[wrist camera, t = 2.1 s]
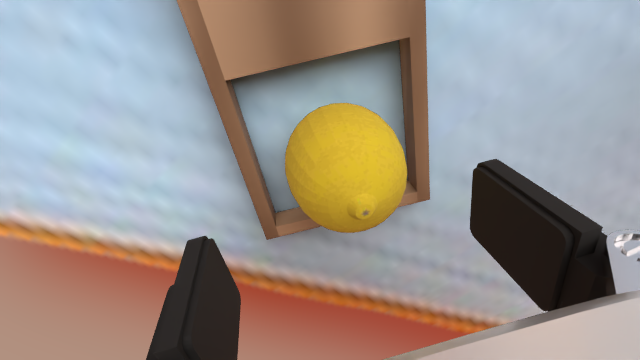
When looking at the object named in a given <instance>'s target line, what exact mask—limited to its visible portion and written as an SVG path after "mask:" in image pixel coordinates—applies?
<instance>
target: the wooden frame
mask: <svg viewBox="0 0 640 360" xmlns="http://www.w3.org/2000/svg"><path fill="white" fill-rule="evenodd" d="M177 2H178V5H179V8H180V10H181V13H182V16H183V18H184V21H185V24H186V26H187V29H188V32H189V34H190V37H191V40H192V42H193V45H194V48H195V50H196V53H197V56H198V58H199V61H200V64H201V66H202V69H203V71H204V74H205V77H206V79H207V82H208V85H209V87H210V90H211V93H212V95H213V98H214V101H215V103H216V106H217V109H218V111H219V114H220V117H221V119H222V122H223V125H224V127H225V130H226V133H227V135H228V138H229V141H230V143H231V146H232V149H233V151H234V154H235V156H236V159H237V162H238V164H239V167H240V170H241V172H242V175H243V178H244V180H245V183H246V186H247V188H248V191H249V194H250V196H251V199H252V202H253V204H254V207H255V210H256V212H257V215H258V218H259V220H260V223H261V226H262V228H263V231H264V234H265V236H266V239H267V240H268V239H272V238H276V237H280V236H284V235H288V234H292V233H296V232H300V231H304V230H308V229H312V228H316V227H320V226H321V225H319V224H317V223H316V222H315V221H313V220H312V219H311V218H310V217H309V216H308V215H307V214H305V213H304V211H303V210H302V209H301V207H297V208H293V209H289V210H285V211H281V212H277V213H275V210H274V207H273V204H272V201H271V198H270V195H269V192H268V189H267V186H266V183H265V180H264V177H263V175H262V172H261V169H260V166H259V163H258V160H257V157H256V154H255V151H254V148H253V145H252V142H251V139H250V136H249V133H248V130H247V127H246V124H245V121H244V118H243V115H242V112H241V109H240V106H239V104H238V101H237V98H236V95H235V92H234V89H233V86H232V83H231V80H230V79H235V78H239V77H243V76H247V75H252V74H256V73H260V72H264V71H268V70H273V69H277V68H281V67H285V66H290V65H294V64H298V63H302V62H307V61H311V60H315V59H319V58H323V57H328V56H332V55H336V54H340V53H345V52H349V51H353V50H357V49H362V48H366V47H370V46H374V45H378V44H383V43H387V42H391V41H395V40H399V46H400V62H401V77H402V93H403V109H404V125H405V141H406V157H407V173H408V180H407V181H406V189H405V191H404V194H403V197H402V200H401V202H400V203H399V205H398V206H397V207H401V206H405V205H409V204H413V203H417V202H421V201H425V200H429V199H430V187H429V142H428V96H427V51H426V6H425V0H177Z"/></svg>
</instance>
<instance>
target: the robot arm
mask: <svg viewBox="0 0 640 360" xmlns="http://www.w3.org/2000/svg"><path fill="white" fill-rule="evenodd" d="M602 228H603V227H602V226H600V225H598V224H597V223H595V222H594V221H592V220H591V219H589V218H588V217H586V216H585V215H583V214H581V213H580V212H578V211H577V210H575V209H574V208H572V207H571V206H569V205H567V204H566V203H564V202H563V201H561V200H560V199H558V198H557V197H555V196H554V195H552V194H550V193H549V192H547V191H546V190H544V189H543V188H541V187H540V186H538V185H536V184H535V183H533V182H532V181H530V180H529V179H527V178H526V177H524V176H523V175H521V174H519V173H518V172H516V171H515V170H513V169H512V168H510V167H509V166H507V165H505V164H504V163H502V162H501V161H499V160H497V159H493V160H489V161H485V162H482V163H479V164H478V165H477V168H475V169H474V170H473V181H472V199H471V216H470V230H471V233H472V235H473V236H474V238H475V239H476V240H477V241H478V242H479V243H480V244H481V245H482V246H483V247H484V248H485V249H486V250H487V252H488V253H489V254H490V255H491V256H492V257H493V258H494V259H495V260H496V261H497V262H498V263H499V264H500V266H501V267H502V268H503V269H504V270H505V271H506V272H507V273H508V274H509V275H510V276H511V277H512V278H513V280H514V281H515V282H516V283H517V284H518V285H519V286H520V287H521V288H522V289H523V290H524V291H525V292H526V294H527V295H528V296H529V297H530V298H531V299H532V300H533V301H534V302H535V303H536V304H537V305H538V306H539V307H540V308H541V309H542V310H544V311H548V312H546V313H542V314H539V315H535V316H532V317H528V318H525V319H521V320H518V321H514V322H511V323H507V324H504V325H500V326H497V327H493V328H490V329H486V330H483V331H479V332H476V333H472V334H469V335H465V336H462V337H459V338H455V339H452V340H448V341H445V342H441V343H438V344H435V345H431V346H428V347H424V348H421V349H417V350H414V351H411V352H407V353H404V354H401V355H397V356H394V357H390V358H387V359H384V360H640V231H638V230H618V231H615V232H612V233H610V234H609V235H608V236H606V235H605V234H603V233H602V232H601V231H602ZM240 305H241V299H240V293H239V290H238V288H237V286H236V284H235V282H234V280H233V278H232V276H231V274H230V272H229V270H228V268H227V265H226V263H225V261H224V259H223V257H222V255H221V253H220V251H219V249H218V247H217V245H216V243H215V241H214V240H213V239H208V238H207V237H206V236H203V237H199V238H195V239H191V240H188V241H187V244H186V247H185V250H184V254H183V257H182V260H181V264H180V267H179V270H178V273H177V277H176V280H175V284H174V285H172V286H171V287H170V288H169V290H168V292H167V295H166V298H165V301H164V305H163V308H162V311H161V314H160V317H159V320H158V323H157V327H156V330H155V333H154V336H153V339H152V342H151V345H150V349H149V352H148V355H147V358H146V360H237V354H238V338H239V321H240Z"/></svg>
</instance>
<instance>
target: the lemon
mask: <svg viewBox="0 0 640 360" xmlns="http://www.w3.org/2000/svg"><path fill="white" fill-rule="evenodd" d="M285 172H286V176H287V180H288V184H289V187H290V190H291V193H292V195H293V196H294V198H295V199H296V201H297V203H298V204H299V206H300V207H301V209H302V210H303V211H304V213H305V214H307V215H308V216H309V217H310V218H311V219H312V220H313V221H315V222H316V223H317V224H319V225H321V226H323V227H325V228H327V229H330V230H333V231H337V232H347V233H354V232H360V231H365V230H368V229H370V228H373V227H375V226H377V225H378V224H380V223H382V222H383V221H385V220H386V219H387V218H388V217H389V216H390V215H391V214H392V213H393V212H394V211H395V209H396V208H397V206H398V205H399V203H400V202H401V200H402V197H403V194H404V191H405V189H406V181H407V166H406V161H405V156H404V152H403V148H402V146H401V144H400V142H399V140H398V139H397V137H396V135H395V133H394V131H393V130H392V128H391V127H390V126H389V125H388V124H387V123H386V122H385V121H384V120H383V119H382V118H381V117H380V116H379V115H377V114H375V113H374V112H372V111H370V110H368V109H366V108H364V107H362V106H358V105H354V104H349V103H334V104H329V105H326V106H322V107H319V108H318V109H316V110H314V111H313V112H311V113H309V114H308V115H307V116H306V117H305V118H304V119H303V120H302V121H301V122H299V124H298V125H297V126H296V128H295V130H294V131H293V133H292V135H291V136H290V139H289V143H288V146H287V149H286V154H285Z"/></svg>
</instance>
